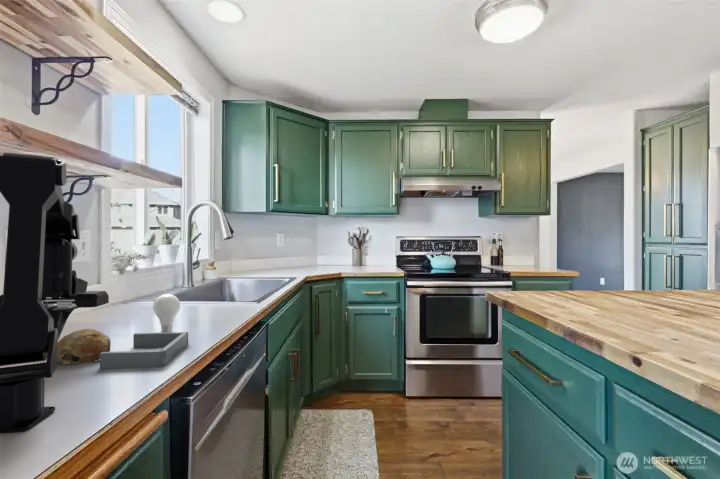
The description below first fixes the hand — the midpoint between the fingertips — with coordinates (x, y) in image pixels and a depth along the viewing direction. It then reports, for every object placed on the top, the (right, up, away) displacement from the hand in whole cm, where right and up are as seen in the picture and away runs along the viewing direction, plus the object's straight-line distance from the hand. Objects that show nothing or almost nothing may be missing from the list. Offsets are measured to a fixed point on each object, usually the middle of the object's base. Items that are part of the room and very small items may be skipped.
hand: (55, 340), depth 82 cm
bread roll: (+5, -4, +1) cm, 7 cm away
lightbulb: (+14, -4, +19) cm, 24 cm away
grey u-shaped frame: (+18, -4, +3) cm, 19 cm away
